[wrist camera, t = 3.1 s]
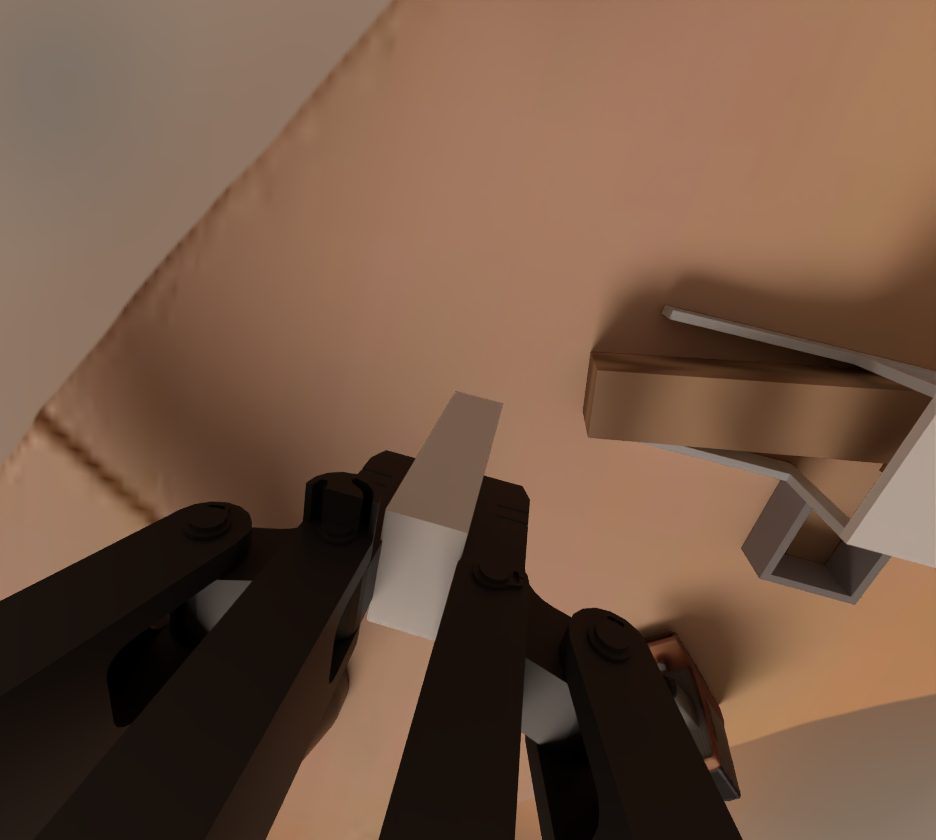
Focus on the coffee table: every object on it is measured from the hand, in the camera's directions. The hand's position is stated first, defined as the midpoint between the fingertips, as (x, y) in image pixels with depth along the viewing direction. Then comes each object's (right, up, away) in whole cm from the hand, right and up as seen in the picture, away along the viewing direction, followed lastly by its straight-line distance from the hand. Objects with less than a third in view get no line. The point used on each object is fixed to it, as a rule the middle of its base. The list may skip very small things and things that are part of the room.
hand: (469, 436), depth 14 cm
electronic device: (+16, -20, +23) cm, 35 cm away
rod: (+16, +2, +14) cm, 21 cm away
